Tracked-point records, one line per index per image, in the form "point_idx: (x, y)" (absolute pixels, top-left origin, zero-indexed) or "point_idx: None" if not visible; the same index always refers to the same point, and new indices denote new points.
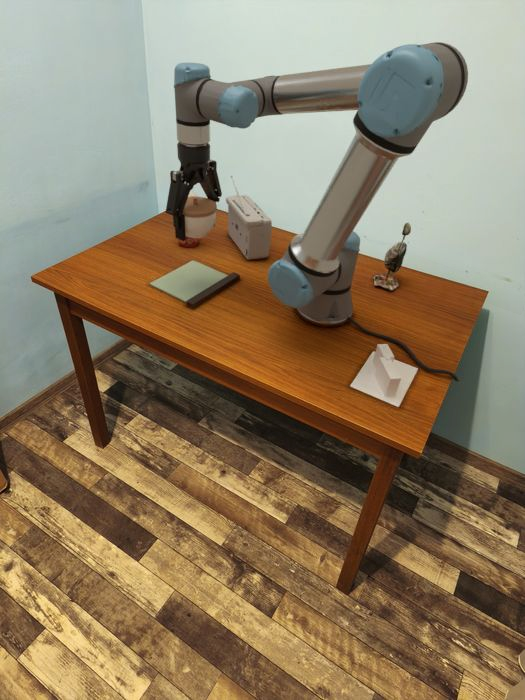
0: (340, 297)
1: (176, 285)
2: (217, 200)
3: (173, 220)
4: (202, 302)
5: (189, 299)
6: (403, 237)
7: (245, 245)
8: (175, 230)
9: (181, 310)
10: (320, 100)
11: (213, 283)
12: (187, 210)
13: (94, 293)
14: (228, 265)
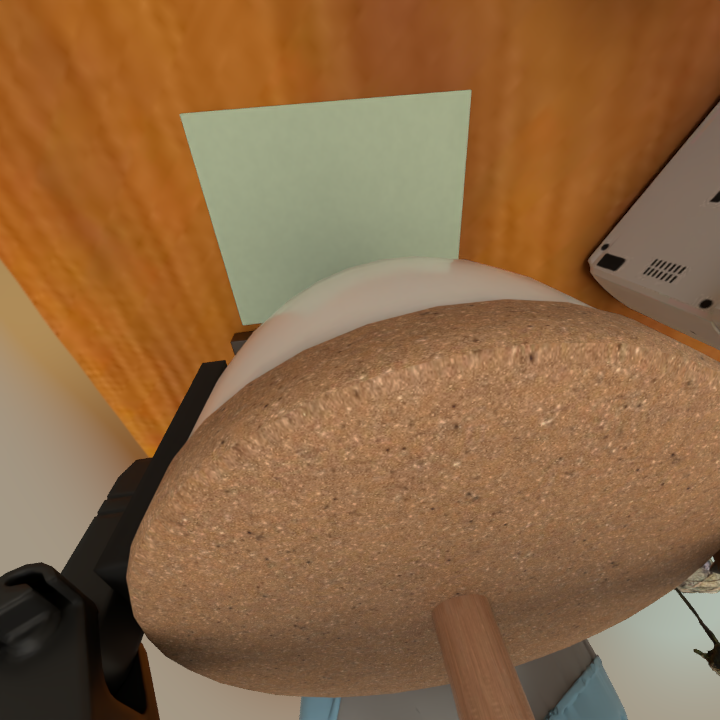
0: None
1: (272, 221)
2: (715, 571)
3: (89, 532)
4: None
5: (244, 342)
6: (711, 635)
7: (642, 252)
8: (184, 402)
9: (208, 340)
10: None
11: None
12: (240, 671)
13: None
14: (520, 236)
